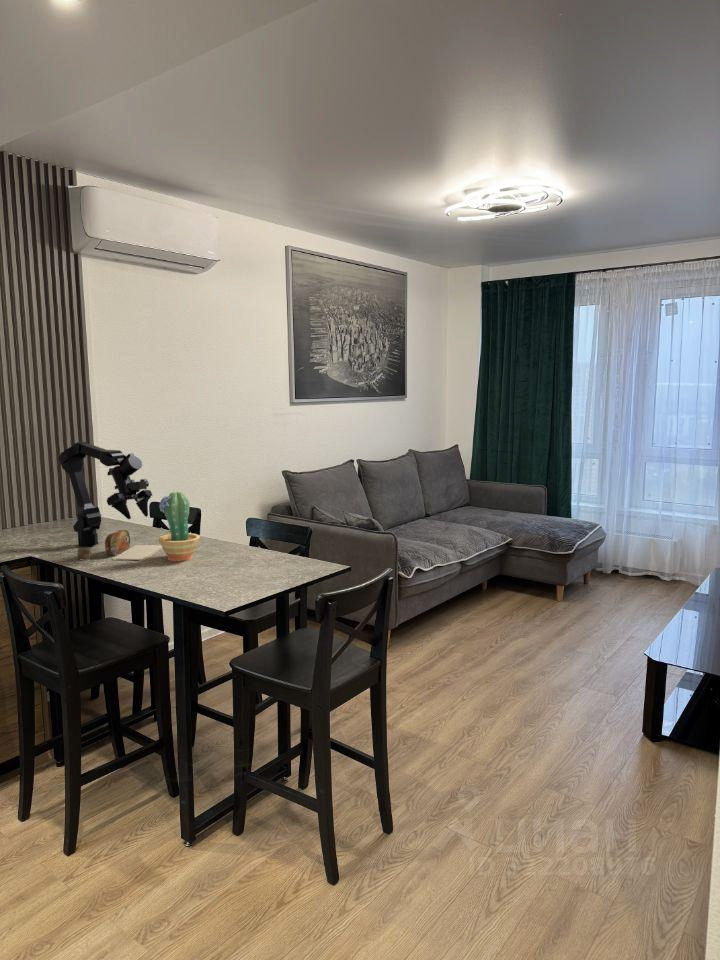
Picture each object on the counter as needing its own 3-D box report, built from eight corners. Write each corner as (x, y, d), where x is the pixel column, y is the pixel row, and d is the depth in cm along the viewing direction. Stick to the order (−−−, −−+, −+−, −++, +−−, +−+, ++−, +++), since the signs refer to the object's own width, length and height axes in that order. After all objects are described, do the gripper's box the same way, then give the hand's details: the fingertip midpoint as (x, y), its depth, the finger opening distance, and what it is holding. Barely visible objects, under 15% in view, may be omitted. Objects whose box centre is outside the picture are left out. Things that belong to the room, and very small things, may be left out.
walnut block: (77, 560, 243) (77, 550, 243) (79, 558, 247) (78, 547, 246) (89, 560, 244) (89, 549, 244) (90, 557, 248) (90, 547, 247)
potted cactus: (167, 552, 255) (164, 489, 252) (206, 553, 254) (204, 489, 251) (152, 563, 240) (149, 495, 237) (194, 563, 239) (192, 495, 236)
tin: (111, 558, 247) (110, 535, 246) (103, 557, 248) (102, 535, 247) (131, 548, 262) (130, 527, 261) (123, 548, 262) (123, 527, 261)
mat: (111, 560, 244) (111, 558, 244) (135, 546, 266) (135, 545, 265) (143, 560, 243) (143, 559, 243) (165, 547, 265) (165, 545, 265)
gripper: (119, 472, 241) (135, 510, 239) (154, 470, 258) (169, 506, 256) (98, 485, 245) (114, 523, 243) (134, 482, 262) (149, 518, 260)
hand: (138, 517), depth 250 cm, fingers open, 9 cm apart
